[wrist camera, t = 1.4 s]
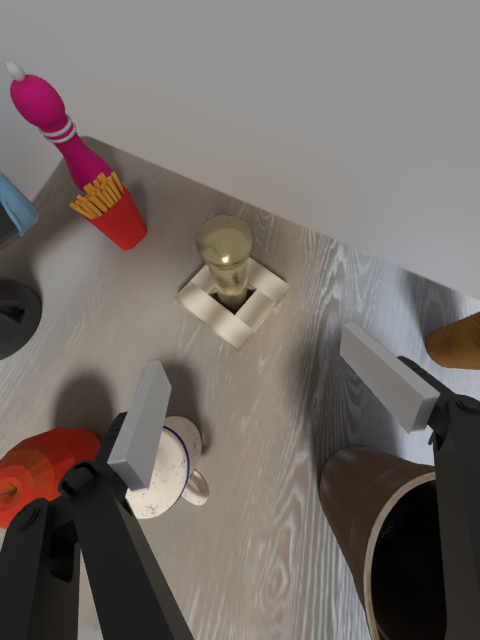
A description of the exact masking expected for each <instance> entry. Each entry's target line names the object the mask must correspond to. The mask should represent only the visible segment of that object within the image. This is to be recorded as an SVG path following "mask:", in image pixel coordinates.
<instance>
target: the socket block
mask: <svg viewBox="0 0 480 640" xmlns="http://www.w3.org/2000/svg"><path fill="white" fill-rule="evenodd" d="M247 288H248V289H249V290H251V291H252V292H253V295H252V296H251V297H250V298H249V299H248V300H247V302H246V303H245V304H244V305H243V306H242V307H241V309H240V310H239V311H238V312H237V313H236V314H235V315H234V314H232V313H231V312H230V311H228V310H227V309H226V308H225V307H223V306H222V305H221V304H220V303H218V302H217V301H216V300H214V299H213V298H212V297H213V296H214V294H215V293H216V292H217V290H216V287H215V284H214V281H213V278H212V275H211V272H210V269H209V266H208V265H207V264H206V265H205V266H204V267H203V268H202V269H201V270H200V271H199V272H198V273H197V274H196V275H195V276H194V277H193V278H192V279H191V281H190V282H189V283H188V284H187V285H186V286H185V287H184V288H183V289H182V290H181V291H180V292H179V293H178V294H177V295H176V296H175V297H174V298H175V299H176V300H177V301H178V302H179V303H180V304H181V305H182V306H183V307H185V308H186V309H187V310H188V311H190V312H191V313H192V314H193V315H194V316H196V317H197V318H198V319H199V320H200V321H202V322H203V323H204V324H205V325H207V326H208V327H209V328H210V329H211V330H213V331H214V332H215V333H216V334H217V335H219V336H220V337H221V338H222V339H223V340H225V341H226V342H227V343H228V344H230V345H231V346H232V347H233V348H234V349H236V350H237V351H238V352H239V350H240V349H241V348H242V347H243V346H244V344H245V343H246V342H247V341H248V339H249V338H250V337H251V336H252V335H253V333H254V332H255V331H256V330H257V328H258V327H259V326H260V325H261V324H262V322H263V321H264V320H265V319H266V318H267V316H268V315H269V314H270V313H271V311H272V310H273V309H274V308H275V307H276V305H277V304H278V303H279V302H280V301H281V299H282V298H283V297H284V296H285V294H286V293H287V292H288V290H289V288H290V285H289V284H287V283H286V282H284V281H283V280H282V279H280V278H279V277H277V276H276V275H274V274H273V273H272V272H270V271H269V270H267V269H266V268H264V267H263V266H262V265H260V264H259V263H257V262H256V261H254V260H253V259H252V258H250V257H249V258H248V260H247Z"/></svg>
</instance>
